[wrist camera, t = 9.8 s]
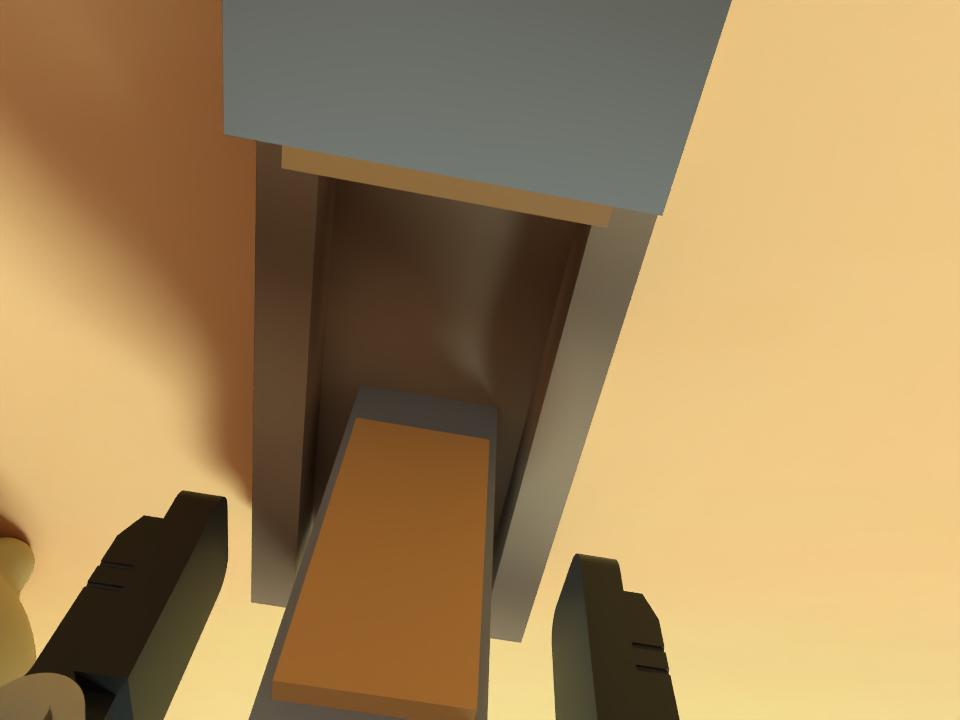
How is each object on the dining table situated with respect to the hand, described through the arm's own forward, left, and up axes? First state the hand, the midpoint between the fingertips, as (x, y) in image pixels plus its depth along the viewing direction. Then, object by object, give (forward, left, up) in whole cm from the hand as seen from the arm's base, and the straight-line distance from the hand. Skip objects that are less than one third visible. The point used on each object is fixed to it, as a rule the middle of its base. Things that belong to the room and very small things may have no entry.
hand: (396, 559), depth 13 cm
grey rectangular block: (+1, 0, -4) cm, 4 cm away
